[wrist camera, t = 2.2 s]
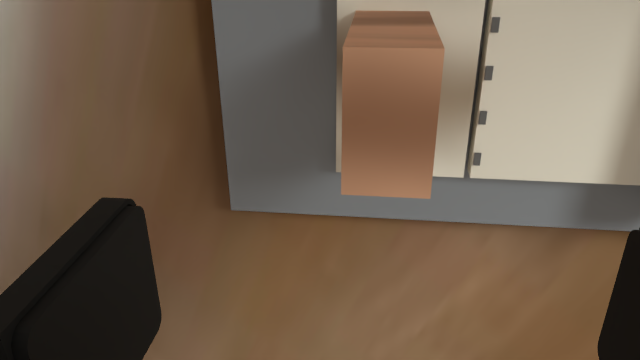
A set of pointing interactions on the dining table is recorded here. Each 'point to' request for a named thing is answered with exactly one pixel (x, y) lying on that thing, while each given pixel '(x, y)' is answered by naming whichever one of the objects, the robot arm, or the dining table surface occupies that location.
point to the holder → (485, 126)
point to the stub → (404, 93)
